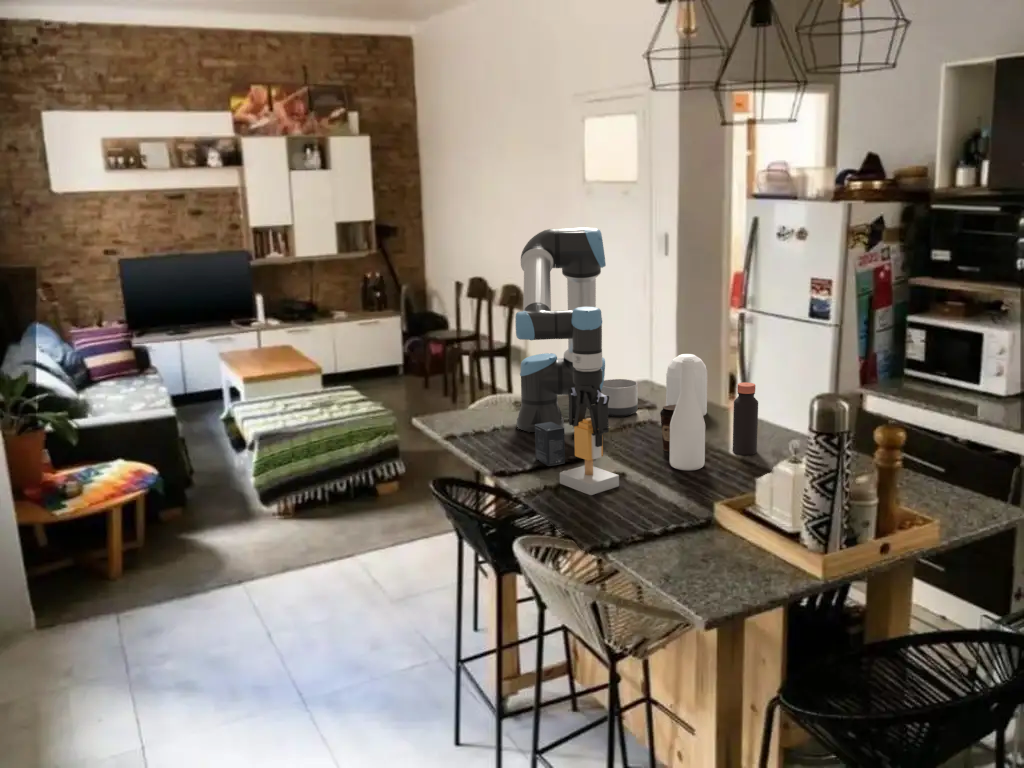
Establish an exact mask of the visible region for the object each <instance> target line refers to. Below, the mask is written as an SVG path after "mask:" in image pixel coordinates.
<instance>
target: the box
mask: <svg viewBox="0 0 1024 768" xmlns="http://www.w3.org/2000/svg"><path fill="white" fill-rule="evenodd" d="M534 444H535V448H534V449H535V450H534V451H535V460H537V461H538V460H539V462H540V463H542V464H544V465H545V466H548V467H551V466H557V465H562V464H566V443H565V427H564V426H563V427H561V426H559V425H557V424H555V423H553V422H547V423H540V424H535V433H534Z"/></svg>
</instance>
